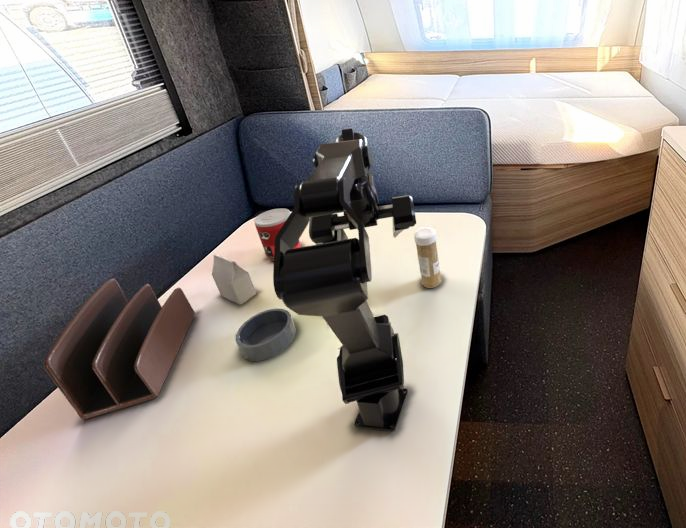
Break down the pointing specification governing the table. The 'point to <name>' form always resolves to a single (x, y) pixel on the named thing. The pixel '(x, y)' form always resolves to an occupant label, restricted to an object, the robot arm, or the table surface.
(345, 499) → the table surface
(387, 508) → the table surface
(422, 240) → the sprinkles bottle
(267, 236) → the canned food
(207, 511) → the table surface
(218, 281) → the gable top box
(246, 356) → the grey round dish
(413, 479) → the table surface
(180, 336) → the letter holder
